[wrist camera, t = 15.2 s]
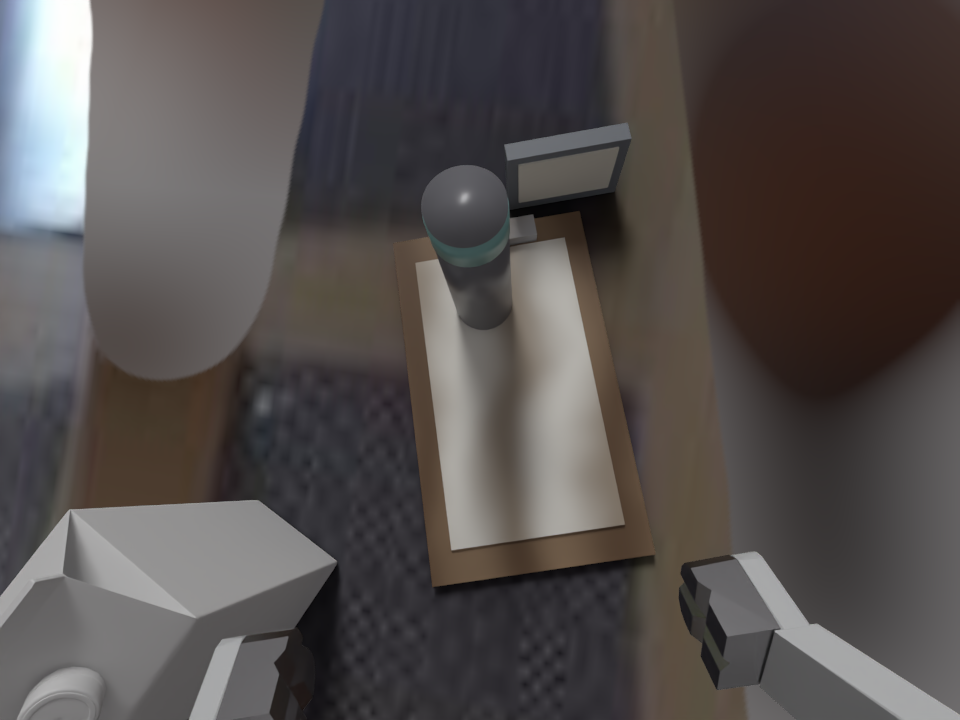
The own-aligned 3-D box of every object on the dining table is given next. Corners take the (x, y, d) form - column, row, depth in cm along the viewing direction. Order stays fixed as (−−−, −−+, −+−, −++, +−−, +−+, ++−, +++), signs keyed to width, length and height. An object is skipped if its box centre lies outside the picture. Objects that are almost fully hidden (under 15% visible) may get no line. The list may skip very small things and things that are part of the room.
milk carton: (192, 592, 33) (-214, 722, 15) (259, 498, 34) (-41, 513, 16) (273, 660, 32) (-65, 897, 13) (340, 561, 33) (113, 655, 15)
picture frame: (509, 211, 38) (507, 162, 32) (506, 196, 39) (504, 144, 33) (614, 193, 38) (631, 140, 32) (611, 177, 38) (627, 122, 32)
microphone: (459, 335, 35) (425, 251, 23) (451, 281, 36) (415, 172, 24) (517, 325, 35) (515, 235, 23) (507, 271, 36) (501, 157, 24)
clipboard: (434, 585, 32) (429, 590, 31) (394, 246, 38) (389, 236, 37) (653, 553, 32) (660, 556, 30) (578, 215, 38) (580, 203, 36)
